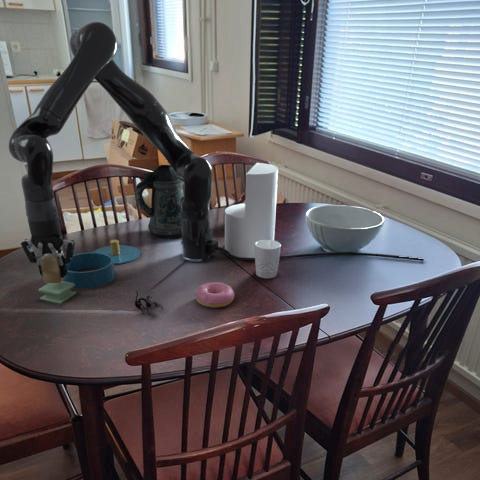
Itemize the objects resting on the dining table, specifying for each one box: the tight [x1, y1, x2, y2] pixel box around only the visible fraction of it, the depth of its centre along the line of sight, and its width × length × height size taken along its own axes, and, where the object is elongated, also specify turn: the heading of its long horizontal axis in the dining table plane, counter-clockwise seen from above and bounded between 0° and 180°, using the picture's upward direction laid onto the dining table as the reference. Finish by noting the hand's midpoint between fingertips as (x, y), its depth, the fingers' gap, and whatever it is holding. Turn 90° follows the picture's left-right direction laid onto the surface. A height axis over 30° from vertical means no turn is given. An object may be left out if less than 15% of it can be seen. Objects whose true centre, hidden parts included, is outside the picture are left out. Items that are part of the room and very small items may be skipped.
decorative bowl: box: [304, 204, 385, 253], centre depth 168 cm, size 27×27×12 cm
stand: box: [38, 281, 77, 304], centre depth 133 cm, size 7×7×4 cm
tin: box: [63, 252, 116, 290], centre depth 144 cm, size 15×15×6 cm
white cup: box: [254, 239, 282, 279], centre depth 148 cm, size 8×8×10 cm
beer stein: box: [134, 164, 184, 241], centre depth 174 cm, size 16×19×25 cm
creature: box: [133, 290, 164, 318], centre depth 127 cm, size 8×5×8 cm
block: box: [40, 253, 65, 284], centre depth 130 cm, size 4×4×7 cm
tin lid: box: [91, 239, 141, 266], centre depth 159 cm, size 16×16×6 cm
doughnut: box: [194, 281, 235, 309], centre depth 133 cm, size 11×11×4 cm
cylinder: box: [224, 162, 279, 258], centre depth 162 cm, size 17×17×28 cm
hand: (54, 276), depth 131 cm, fingers closed on block, 4 cm apart
